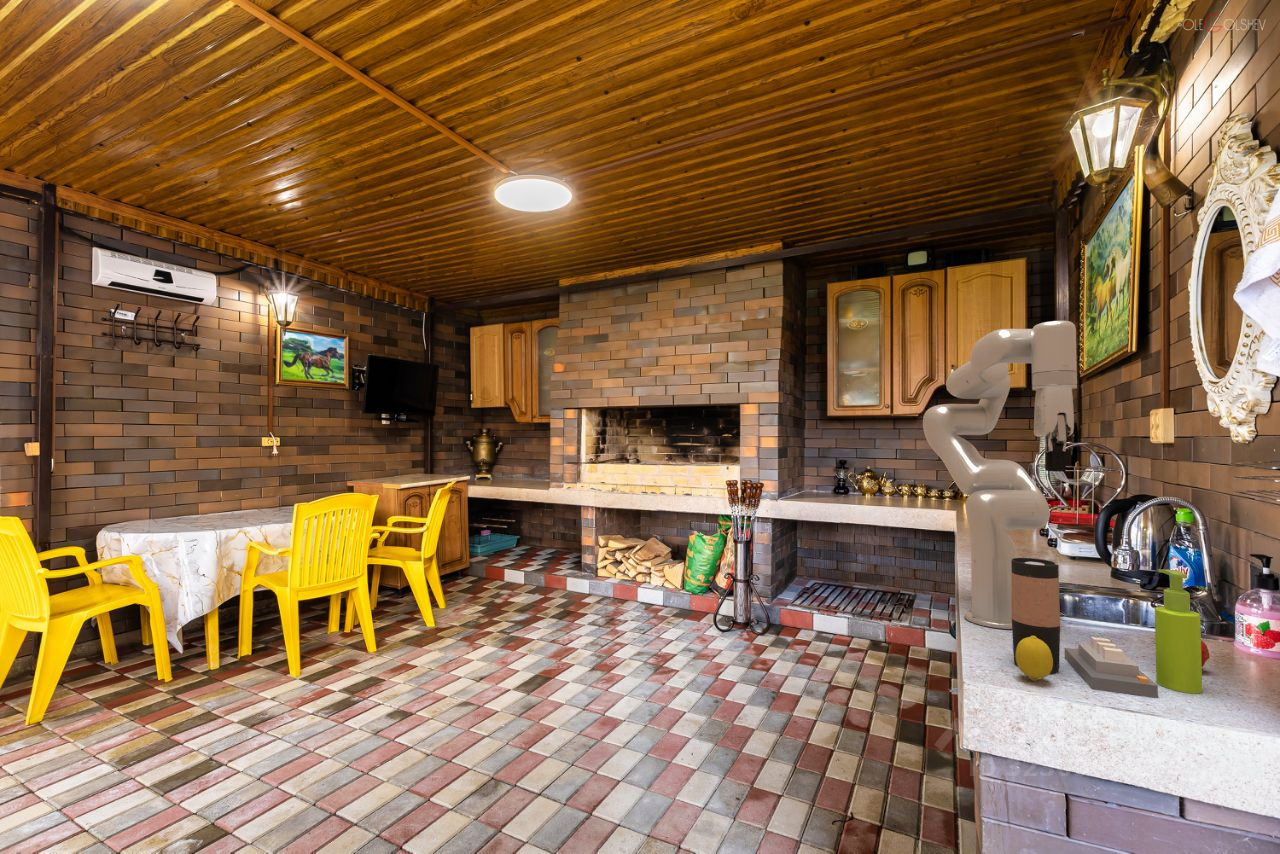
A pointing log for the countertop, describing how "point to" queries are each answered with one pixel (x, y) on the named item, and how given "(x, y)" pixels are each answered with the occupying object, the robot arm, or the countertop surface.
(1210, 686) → the countertop surface
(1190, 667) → the soap dispenser
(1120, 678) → the breaker panel
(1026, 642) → the lemon
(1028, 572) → the travel mug
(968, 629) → the countertop surface
